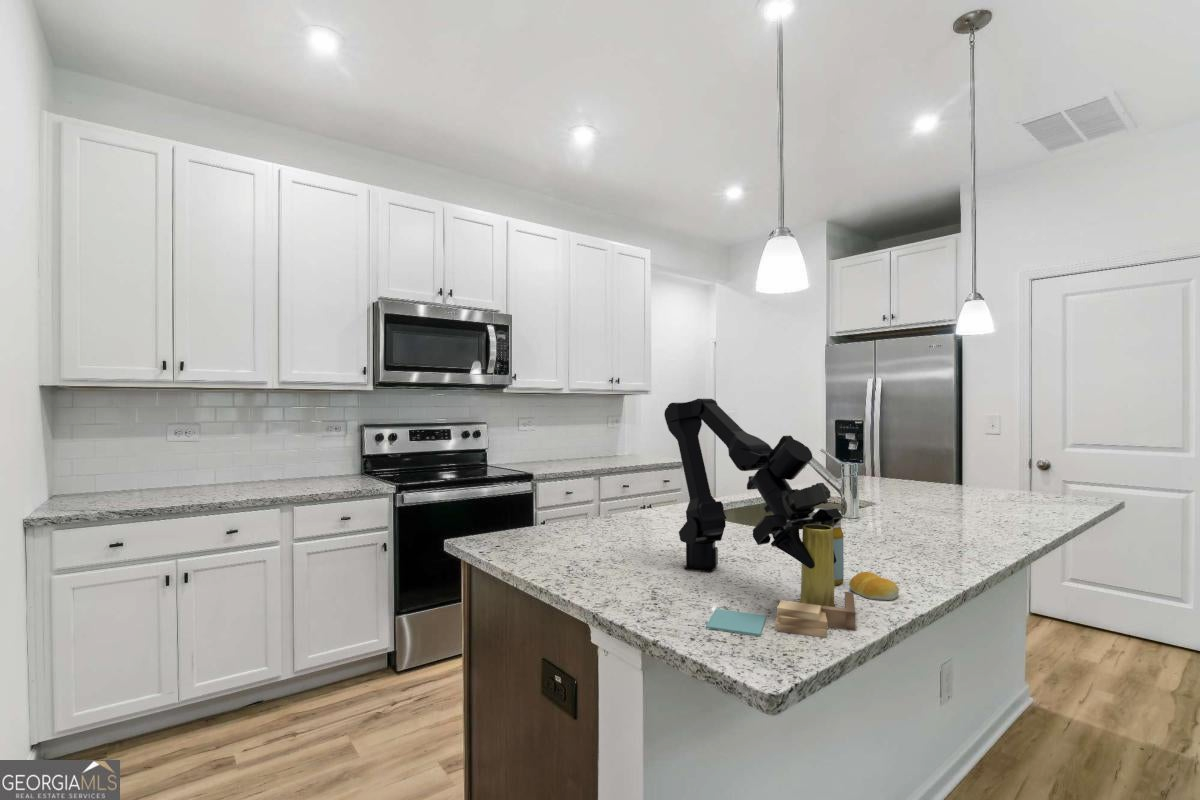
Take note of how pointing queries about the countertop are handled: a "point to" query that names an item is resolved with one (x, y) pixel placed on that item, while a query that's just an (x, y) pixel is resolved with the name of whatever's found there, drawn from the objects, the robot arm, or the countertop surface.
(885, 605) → the countertop surface
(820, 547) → the vase
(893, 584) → the bread roll
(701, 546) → the robot arm
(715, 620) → the mat
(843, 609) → the offcut rack
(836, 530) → the bottle
